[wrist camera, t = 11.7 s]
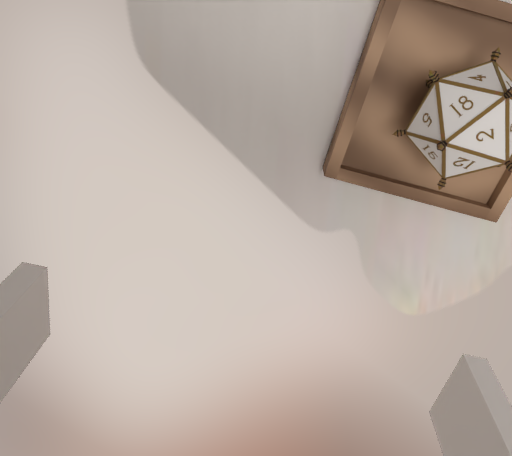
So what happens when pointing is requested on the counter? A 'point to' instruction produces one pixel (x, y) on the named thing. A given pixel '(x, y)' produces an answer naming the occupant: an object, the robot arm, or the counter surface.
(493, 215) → the walnut tray
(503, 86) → the game die
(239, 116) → the counter surface
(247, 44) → the counter surface
